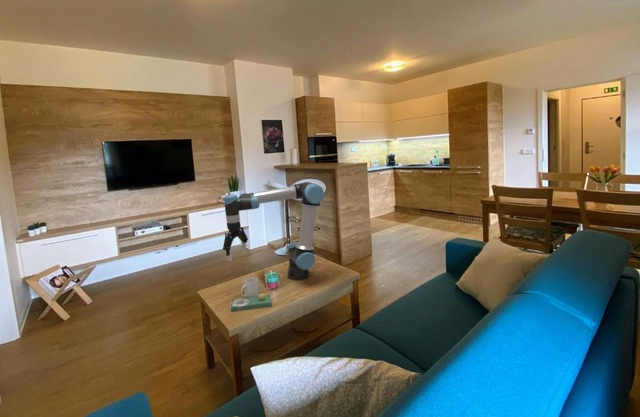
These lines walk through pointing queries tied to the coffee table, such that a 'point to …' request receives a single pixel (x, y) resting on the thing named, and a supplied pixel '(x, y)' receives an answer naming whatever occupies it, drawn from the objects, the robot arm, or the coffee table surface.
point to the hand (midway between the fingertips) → (237, 256)
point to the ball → (261, 296)
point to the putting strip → (250, 303)
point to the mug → (251, 287)
